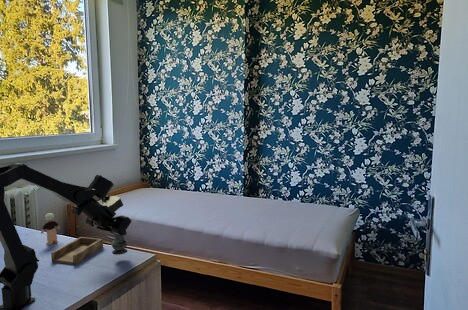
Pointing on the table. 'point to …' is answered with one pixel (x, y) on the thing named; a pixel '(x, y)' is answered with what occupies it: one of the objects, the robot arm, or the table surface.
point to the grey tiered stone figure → (119, 245)
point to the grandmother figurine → (50, 229)
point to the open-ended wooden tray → (77, 250)
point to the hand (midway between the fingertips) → (122, 233)
